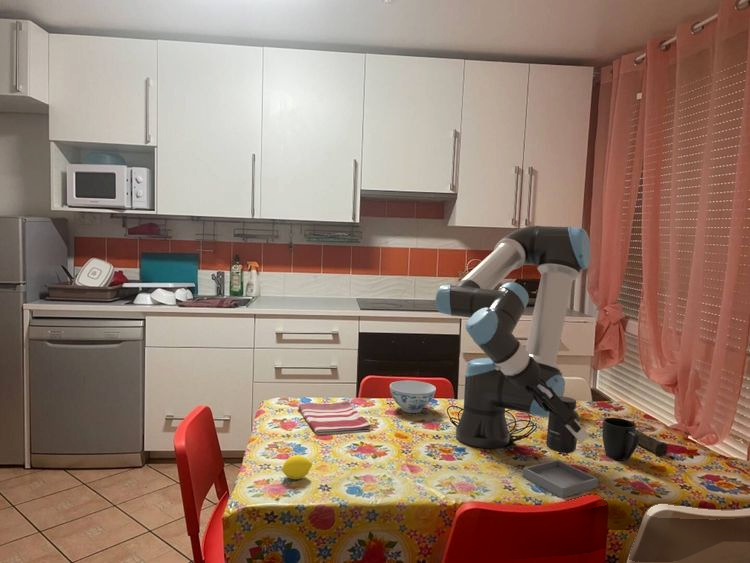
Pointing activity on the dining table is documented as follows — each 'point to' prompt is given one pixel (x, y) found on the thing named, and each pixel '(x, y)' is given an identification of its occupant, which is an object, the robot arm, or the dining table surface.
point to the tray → (560, 478)
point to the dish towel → (333, 418)
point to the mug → (619, 438)
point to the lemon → (296, 467)
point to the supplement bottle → (561, 430)
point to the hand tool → (652, 444)
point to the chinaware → (412, 395)
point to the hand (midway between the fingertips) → (576, 433)
